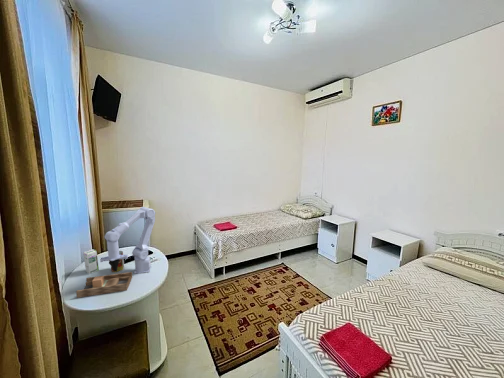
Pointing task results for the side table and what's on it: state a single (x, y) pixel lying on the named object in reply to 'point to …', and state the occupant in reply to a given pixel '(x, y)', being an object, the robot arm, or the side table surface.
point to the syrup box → (91, 261)
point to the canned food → (119, 264)
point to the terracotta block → (98, 281)
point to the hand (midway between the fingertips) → (115, 270)
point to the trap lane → (106, 285)
